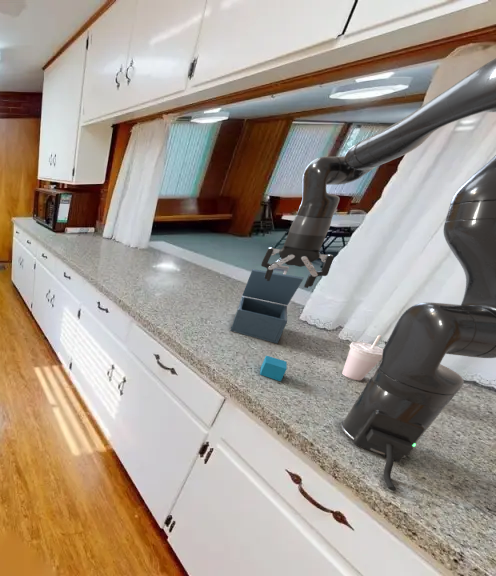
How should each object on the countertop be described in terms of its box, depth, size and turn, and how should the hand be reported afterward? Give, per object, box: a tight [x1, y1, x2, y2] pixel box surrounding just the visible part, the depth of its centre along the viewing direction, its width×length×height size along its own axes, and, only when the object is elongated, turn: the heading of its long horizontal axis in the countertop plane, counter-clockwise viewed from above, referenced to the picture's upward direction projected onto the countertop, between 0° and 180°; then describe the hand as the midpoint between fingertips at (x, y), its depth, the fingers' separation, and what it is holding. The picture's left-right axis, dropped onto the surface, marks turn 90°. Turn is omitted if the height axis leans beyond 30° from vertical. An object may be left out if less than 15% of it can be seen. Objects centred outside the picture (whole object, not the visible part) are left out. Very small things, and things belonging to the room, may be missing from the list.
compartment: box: [230, 296, 288, 344], centre depth 106 cm, size 15×13×9 cm
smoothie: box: [341, 334, 384, 381], centre depth 81 cm, size 6×6×14 cm
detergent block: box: [259, 355, 288, 382], centre depth 84 cm, size 4×4×4 cm
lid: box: [241, 265, 304, 306], centre depth 104 cm, size 15×13×6 cm
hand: (286, 283), depth 91 cm, fingers open, 8 cm apart
